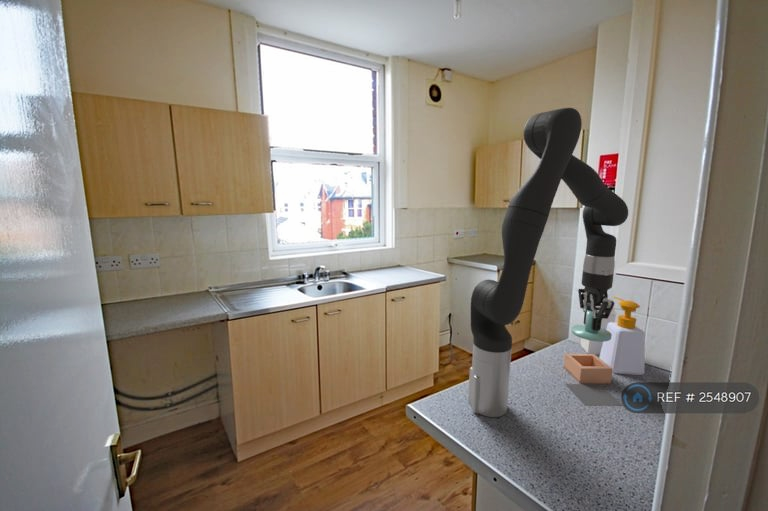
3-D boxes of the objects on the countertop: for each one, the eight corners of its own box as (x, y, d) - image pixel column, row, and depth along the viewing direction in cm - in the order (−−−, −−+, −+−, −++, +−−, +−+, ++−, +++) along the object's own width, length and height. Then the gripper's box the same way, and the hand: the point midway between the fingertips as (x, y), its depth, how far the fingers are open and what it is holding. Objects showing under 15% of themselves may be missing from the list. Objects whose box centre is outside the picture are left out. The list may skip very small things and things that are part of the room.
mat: (584, 406, 88) (584, 405, 88) (564, 385, 98) (564, 383, 98) (623, 406, 88) (623, 405, 88) (599, 385, 98) (599, 384, 98)
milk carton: (610, 356, 115) (617, 302, 112) (587, 354, 117) (593, 301, 113) (601, 347, 122) (608, 296, 119) (580, 345, 123) (585, 295, 120)
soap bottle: (621, 355, 116) (629, 293, 112) (646, 377, 102) (656, 306, 98) (591, 353, 117) (598, 292, 113) (611, 374, 103) (620, 305, 99)
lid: (583, 341, 95) (586, 318, 94) (565, 327, 105) (567, 306, 104) (619, 341, 95) (622, 318, 94) (597, 327, 105) (600, 306, 104)
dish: (579, 384, 98) (581, 368, 97) (563, 368, 107) (564, 353, 106) (610, 384, 98) (612, 368, 97) (592, 368, 107) (593, 353, 106)
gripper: (571, 265, 104) (566, 318, 107) (600, 276, 90) (593, 337, 93) (596, 265, 104) (590, 318, 107) (628, 276, 90) (620, 337, 93)
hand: (591, 327), depth 100 cm, fingers closed on lid, 3 cm apart
